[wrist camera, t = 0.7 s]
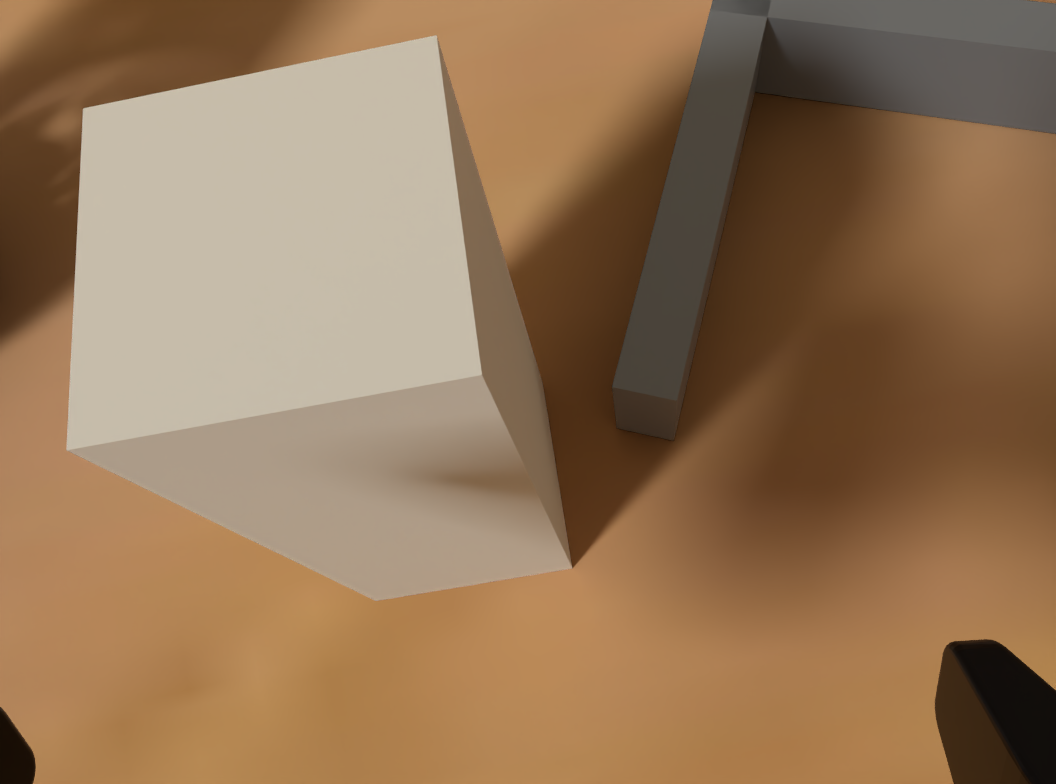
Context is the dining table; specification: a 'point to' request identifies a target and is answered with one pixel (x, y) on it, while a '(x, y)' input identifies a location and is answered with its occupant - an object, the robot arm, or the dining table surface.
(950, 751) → the robot arm
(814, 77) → the frame
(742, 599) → the dining table surface
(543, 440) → the post
